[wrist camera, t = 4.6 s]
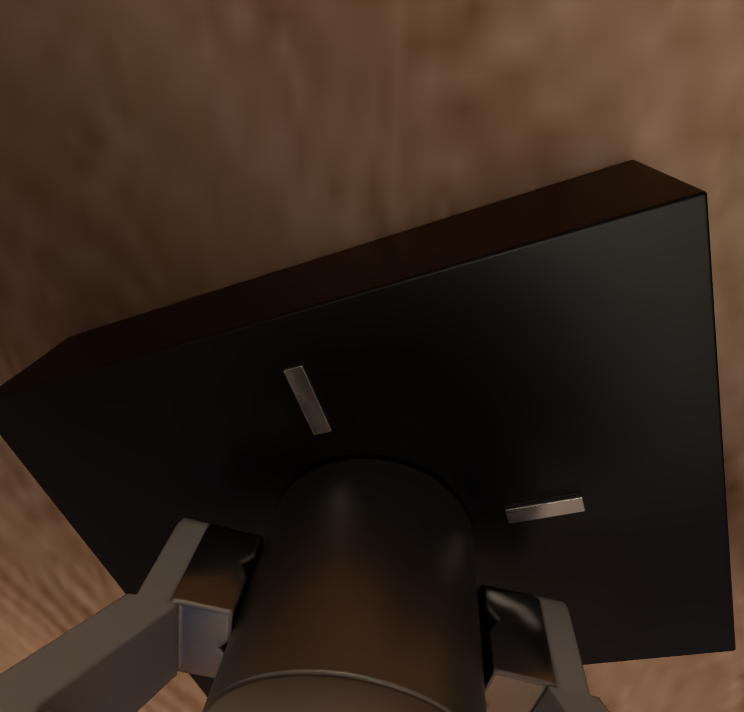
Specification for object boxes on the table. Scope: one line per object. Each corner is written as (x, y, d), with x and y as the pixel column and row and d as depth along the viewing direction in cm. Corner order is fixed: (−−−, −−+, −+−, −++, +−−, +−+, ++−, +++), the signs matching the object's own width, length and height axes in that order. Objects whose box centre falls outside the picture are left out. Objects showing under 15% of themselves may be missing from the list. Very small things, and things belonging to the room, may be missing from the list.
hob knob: (318, 611, 12) (264, 858, 8) (243, 479, 10) (131, 714, 7) (493, 587, 11) (523, 856, 7) (441, 438, 9) (444, 685, 6)
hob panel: (244, 603, 17) (207, 706, 14) (68, 336, 13) (-33, 408, 10) (679, 541, 14) (740, 659, 11) (634, 158, 10) (713, 193, 7)
